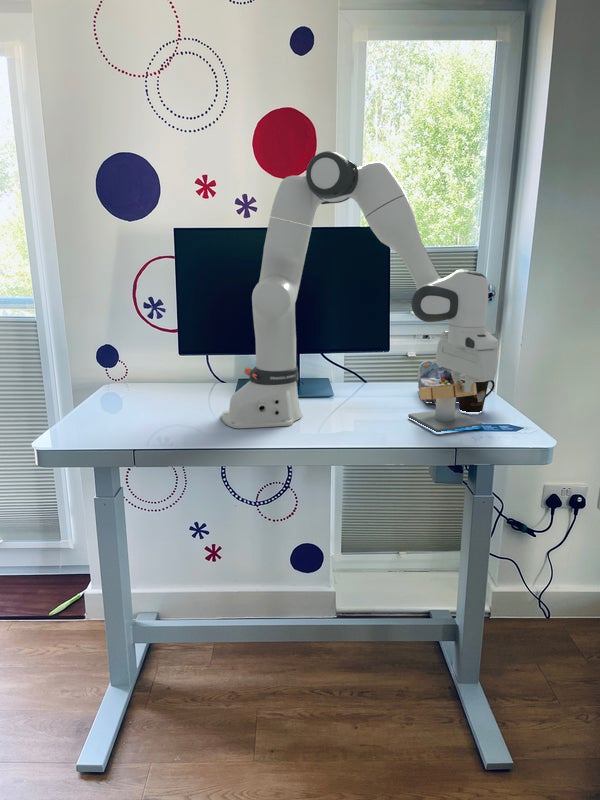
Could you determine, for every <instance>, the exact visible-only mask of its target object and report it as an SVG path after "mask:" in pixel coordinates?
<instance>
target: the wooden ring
mask: <svg viewBox="0 0 600 800" xmlns="http://www.w3.org/2000/svg"><path fill="white" fill-rule="evenodd" d="M463 384H464V383H463ZM461 386H462V384H461V385H454V384H450V385H440V386H431V387H423V388H418V393H419V399H420V400H421V401H422V400H423V401H424V400H425V399H442V398H453V397H462V396H470V395H475V394H477V390H476V383H472V385H471V390H470V392H464V391H462V390H461V388H462V387H461Z"/></svg>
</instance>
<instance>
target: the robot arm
mask: <svg viewBox="0 0 600 800" xmlns="http://www.w3.org/2000/svg"><path fill="white" fill-rule="evenodd" d="M405 192H406V191H404V189H403V187H402V185H401V183H400V182H399V180H398V178H397V177H396V175H395V174H394V172H393V171H392V170H391V169H390V168H389V166H388V165H387V164H386V163H384V162H382V161H378V160H377V161H371V162H368V163H366V164H364V165H362V166H359V167H358V165H357V164H356V163H354V162H353V161H351V160H350V159H349V158H347V157H345V156H344V155H342V154H340V153H338V152H336V151H332V150H327V151H322V152H319V153H317V154H315V156H313V157H312V159H311V160H310V161H309V162H308V164H307V167H306V171H305V176H304V175H303V176H301V175H290V176H286V177H285V178H283V179H282V180H281V182H280V184H279V186H278V189H277V191H276V194H275V196H274V200H273V203H272V207H271V210H270V216H269V220H268V226H267V231H266V234H265V241H264V245H263V253H262V261H261V266H260V267H261V269H260V276H259V280H258V282H257V284H256V285H255V287H254V288H253V290H252V295H251V302H252V303H251V306H252V318H253V319H252V320H253V329H254V338H255V361H256V362H255V366H254V367H253V368H250V367H248V366H247V367H245V368H244V370H243V371H244V374H245V375H247V377H249V381H247V383H245V384H244V385H243V386H242V387H240V388H239V389H238V390H237V391H235V392H234V393H233V394H232V395H231V397H230V401H229V407H228V409H227V410H224V411H223V412H222V413H221V421H223V423H224V424H225V425H227V426H228V427H231V428H233V429H250V428H252V429H253V428H254V429H255V428H268V427H269V428H271V427H272V428H273V427H288V426H292V425H293V423H294V422H296V421H297V420H299V419H301V418H302V417H303V413H302V410H301V407H300V399H299V395H298V394H299V393H298V385H299V371H298V370H299V368H298V366H297V330H296V329H297V327H296V326H297V325H296V302H297V299H298V294H299V290H300V286H301V280H302V275H303V270H304V265H305V261H306V256H307V255H306V254H307V251H308V247H309V242H310V237H311V234H312V233H311V232H312V227H313V225H314V219H315V215H316V211H317V209H318V207H319V206H320V205H327V204H340V203H342V202H347V200H349V199H352V200H354V201H355V202H356V203H357V205H358V206H359V208H360V210H361V212H362V214H363V216H364V219H365V220H366V223H367V224H368V226H369V228H370V230H371V231H372V232H373V234H374V236H376V238H377V239H378V240H379V241H380V242H381V244H384V245H385V246H387V247H389V248H390V249H391V250H393V251H395V253H396V254H397V255H398V256H399V257H400V259H402V261H403V263H404V265H405V267H406V269H407V271H408V273H409V274H410V276H411V278H412V280H413V282H414V284H415V288H416V291H415V292H414V294H413V296H412V297H411V298H412V299H411V310H412V311H413V314H414V315H415V316H416V318H417V319H419V320H420V321H422V322H426V323H437V322H443V321H448V330H445V331H443V332H442V333H441V334H440V336H439V337H440V338H439V340H438V342H437V346H436V352H435V362H436V363H437V365H439V366H442V367H445V368H447V369H450V370H452V371H451V375H452V378H453V381H454V385H461V384H462V386H461V387H462V388H461V390H462V391H464V392H470V390H471V385H472V383H473V381H474V380H475V379H477V380H480V381H489V380H493V381H494V378H495V377H496V376H497V375H496V374H497V367H498V366H497V365H498V353H497V351H496V349H498V348H499V339H497V338H496V337H495V336H493V335H492V334H491V333H490V332H489V331H488V330H487V329H486V325H487V323H486V312H487V310H488V305H489V304H488V303H489V281H488V278H487V277H486V276H485V274H483V273H482V272H479V271H476V270H471V269H464V268H459V269H456V270H455V271H454V272H452V273H451V274H449V275H447V276H445V277H443V276H442V275H440V274H439V272H438V271H437V269H436V266H435V265H434V263H433V261H432V259H431V257H430V255H429V253H428V251H427V250H426V247H425V246H424V244H423V242H422V238H421V235H420V231H419V228H418V224H417V220H416V216H415V214H414V211H413V208H412V205H411V203H410V201H409V199H408V197H407V194H406V193H405ZM460 375H465V379H466V381H465V383H464V384H463V382H462V381H461V378H460Z"/></svg>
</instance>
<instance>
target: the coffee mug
mask: <svg viewBox="0 0 600 800" xmlns="http://www.w3.org/2000/svg"><path fill="white" fill-rule="evenodd" d="M460 378H461V381H462V382H463V383H465V381H466V379H465V375H464V374H460ZM473 383H476V390H477V394H475V395H470V396H462V397H459V403H458V410H459V409H460V410H462V411H466V412H480V411H482V412H483V411H484V410H483V409H484V405H485V400H486V398H487V397H488V396H489V395H491V393H492V392H493V391H494V389H495V386H496V385H495V382H494V379H493V380H489V381H480V380H477V379H475V380H474V381H473ZM489 383H491V384H492V387H491V388H490V390H489V391H488V387H489Z"/></svg>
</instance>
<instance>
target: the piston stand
mask: <svg viewBox="0 0 600 800" xmlns="http://www.w3.org/2000/svg"><path fill="white" fill-rule="evenodd" d="M455 403H456V397H453V398H442V399H436V404H435V410H430V411H429V410H428V411H421V412H414V413H408V416H407V417H409V418H411V419H413V420H415V421H417V422H418V423H420V424H422V425H424V426H426V427H428V428H430V429H432V430H434V431H436V432H441V431H447V430H455V429H461V428H466V427H472V426H481V425H482V426H483V425H484V424H483V423H482V422H481V421H479V420H476V419H474V418H472V417H470V416H468V415H467V414H464V413H461V412H460V411H457V410H456V404H457V403H456V404H455Z"/></svg>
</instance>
